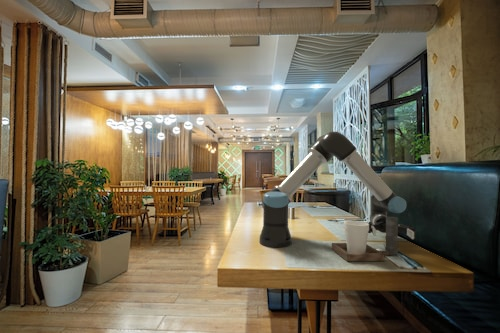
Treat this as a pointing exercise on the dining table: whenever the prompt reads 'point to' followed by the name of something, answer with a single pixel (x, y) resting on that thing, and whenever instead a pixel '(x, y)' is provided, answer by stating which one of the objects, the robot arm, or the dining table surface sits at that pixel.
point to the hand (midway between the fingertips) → (393, 234)
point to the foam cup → (356, 236)
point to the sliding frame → (373, 253)
